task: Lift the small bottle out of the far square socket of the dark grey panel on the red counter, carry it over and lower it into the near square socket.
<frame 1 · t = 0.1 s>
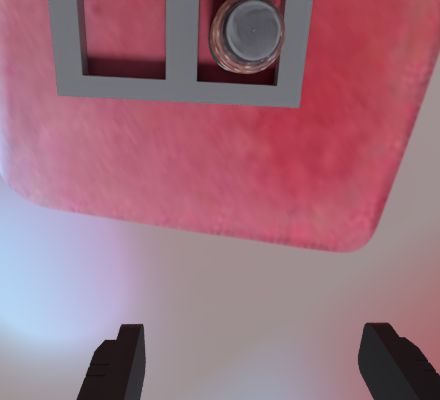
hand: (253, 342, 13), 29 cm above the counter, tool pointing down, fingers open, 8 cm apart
supplement bottle: (237, 41, 36), resting in socket panel
socket panel: (183, 37, 36), on the counter
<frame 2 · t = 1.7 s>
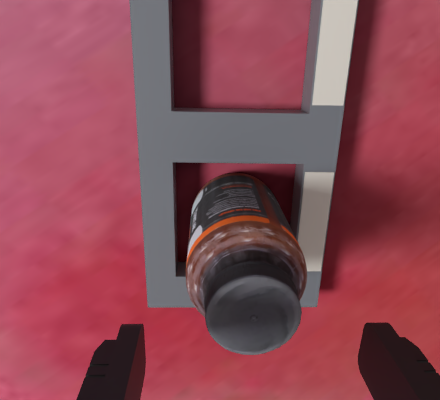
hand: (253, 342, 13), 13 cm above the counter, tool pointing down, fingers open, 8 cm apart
supplement bottle: (234, 210, 25), resting in socket panel
socket panel: (237, 132, 23), on the counter
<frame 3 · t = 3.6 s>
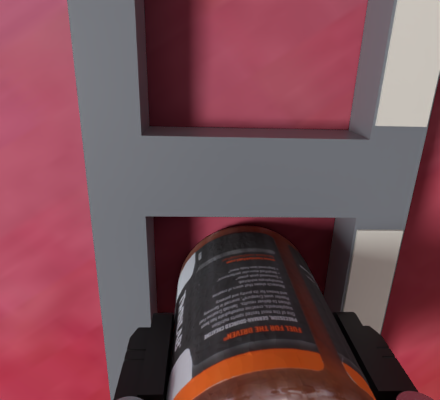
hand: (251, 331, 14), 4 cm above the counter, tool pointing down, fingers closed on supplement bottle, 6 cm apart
supplement bottle: (241, 275, 17), resting in socket panel, touching gripper
socket panel: (248, 164, 15), on the counter
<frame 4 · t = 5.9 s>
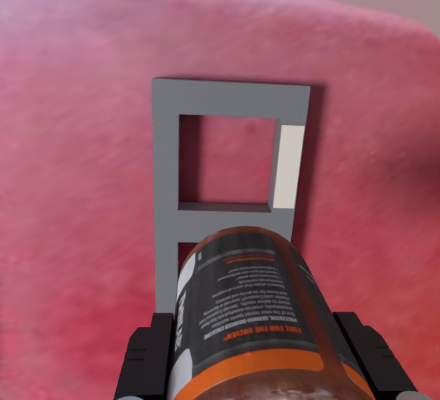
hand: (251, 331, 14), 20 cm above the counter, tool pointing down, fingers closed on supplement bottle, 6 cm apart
supplement bottle: (241, 276, 17), point 16 cm above the counter, touching gripper
socket panel: (222, 218, 33), on the counter
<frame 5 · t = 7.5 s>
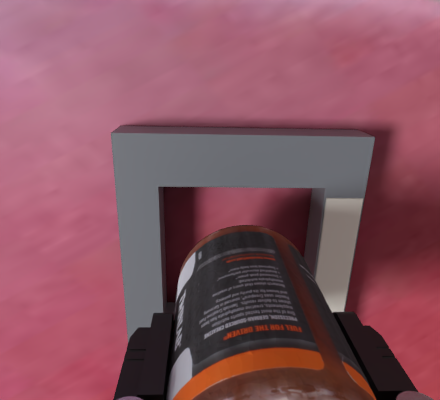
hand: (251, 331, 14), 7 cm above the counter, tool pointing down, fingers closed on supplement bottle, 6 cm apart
supplement bottle: (241, 275, 17), point 4 cm above the counter, touching gripper
socket panel: (232, 322, 22), on the counter
when the fingers open (5 cm above the counter, at t = 8.7 s): supplement bottle drops 1 cm, resting in socket panel.
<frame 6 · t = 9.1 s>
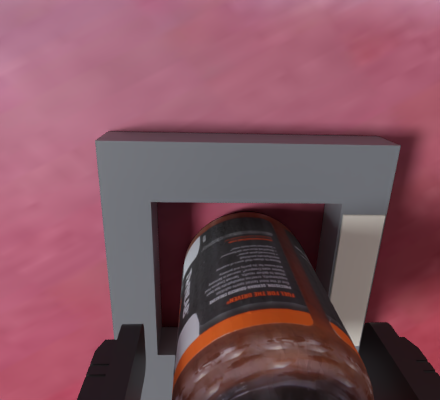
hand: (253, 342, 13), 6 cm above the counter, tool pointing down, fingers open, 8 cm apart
supplement bottle: (242, 259, 18), resting in socket panel
socket panel: (234, 348, 20), on the counter
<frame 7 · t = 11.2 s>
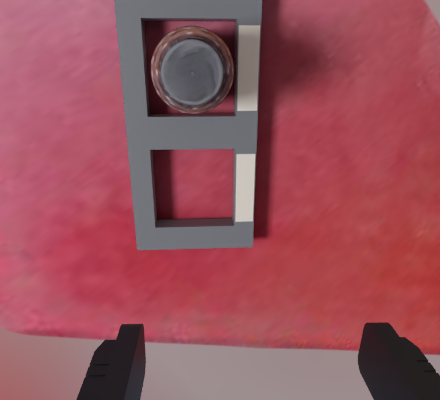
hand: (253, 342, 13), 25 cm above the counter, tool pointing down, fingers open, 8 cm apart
supplement bottle: (193, 69, 33), resting in socket panel
socket panel: (192, 129, 35), on the counter
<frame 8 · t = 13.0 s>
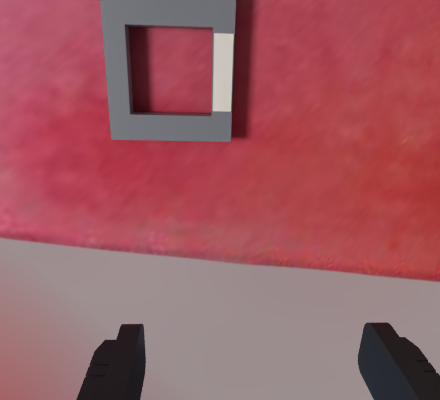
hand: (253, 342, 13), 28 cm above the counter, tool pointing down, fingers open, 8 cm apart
socket panel: (170, 10, 34), on the counter
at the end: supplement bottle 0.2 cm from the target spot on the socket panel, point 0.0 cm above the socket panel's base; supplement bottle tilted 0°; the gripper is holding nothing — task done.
